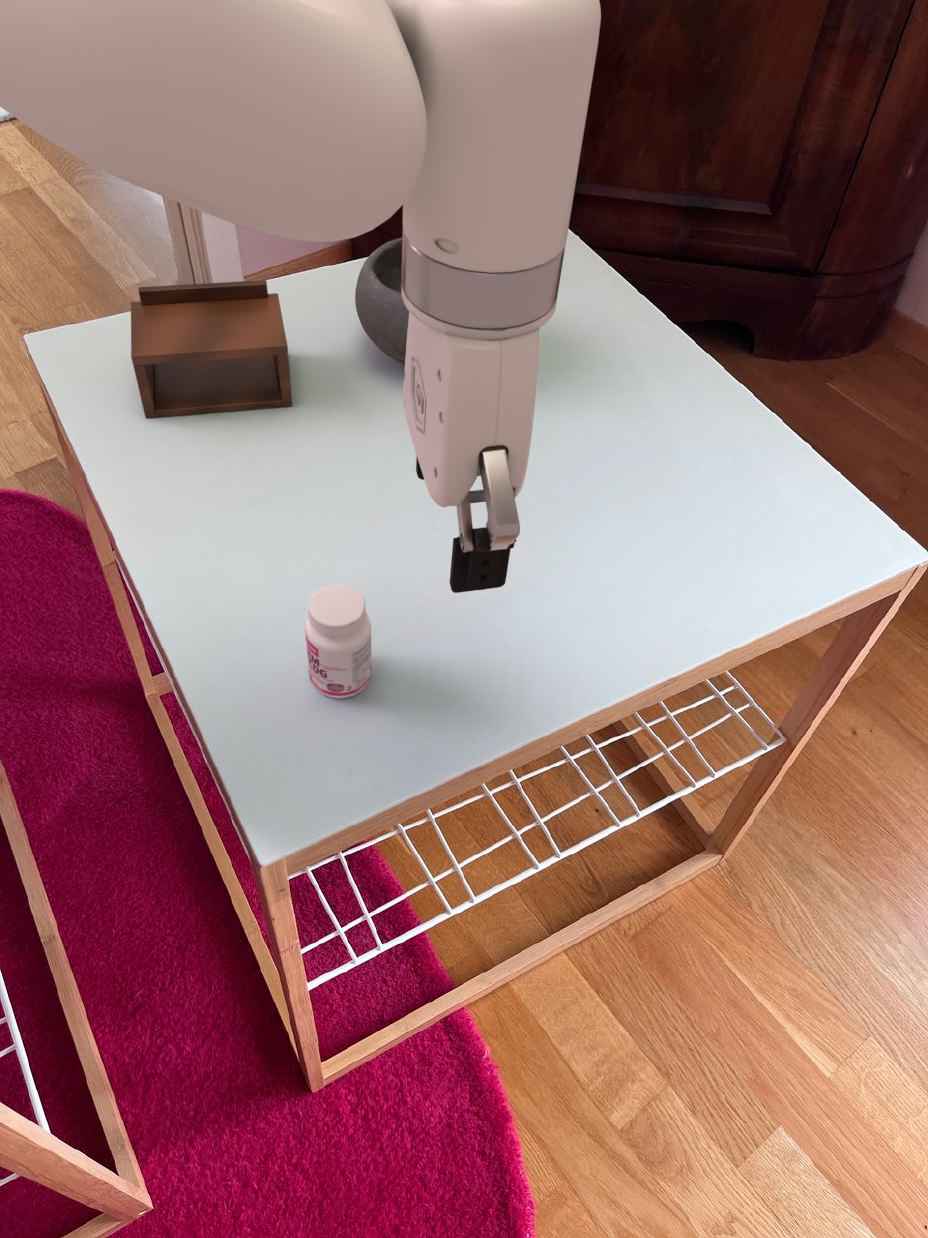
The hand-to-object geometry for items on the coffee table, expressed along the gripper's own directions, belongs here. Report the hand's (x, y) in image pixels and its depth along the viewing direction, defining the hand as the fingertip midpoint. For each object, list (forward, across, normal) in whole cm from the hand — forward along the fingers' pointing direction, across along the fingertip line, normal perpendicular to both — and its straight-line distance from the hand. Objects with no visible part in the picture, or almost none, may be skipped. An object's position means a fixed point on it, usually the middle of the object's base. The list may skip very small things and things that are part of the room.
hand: (458, 527), depth 58 cm
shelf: (+19, -42, -14) cm, 48 cm away
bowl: (+19, -45, +8) cm, 49 cm away
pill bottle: (+19, -4, -7) cm, 21 cm away
